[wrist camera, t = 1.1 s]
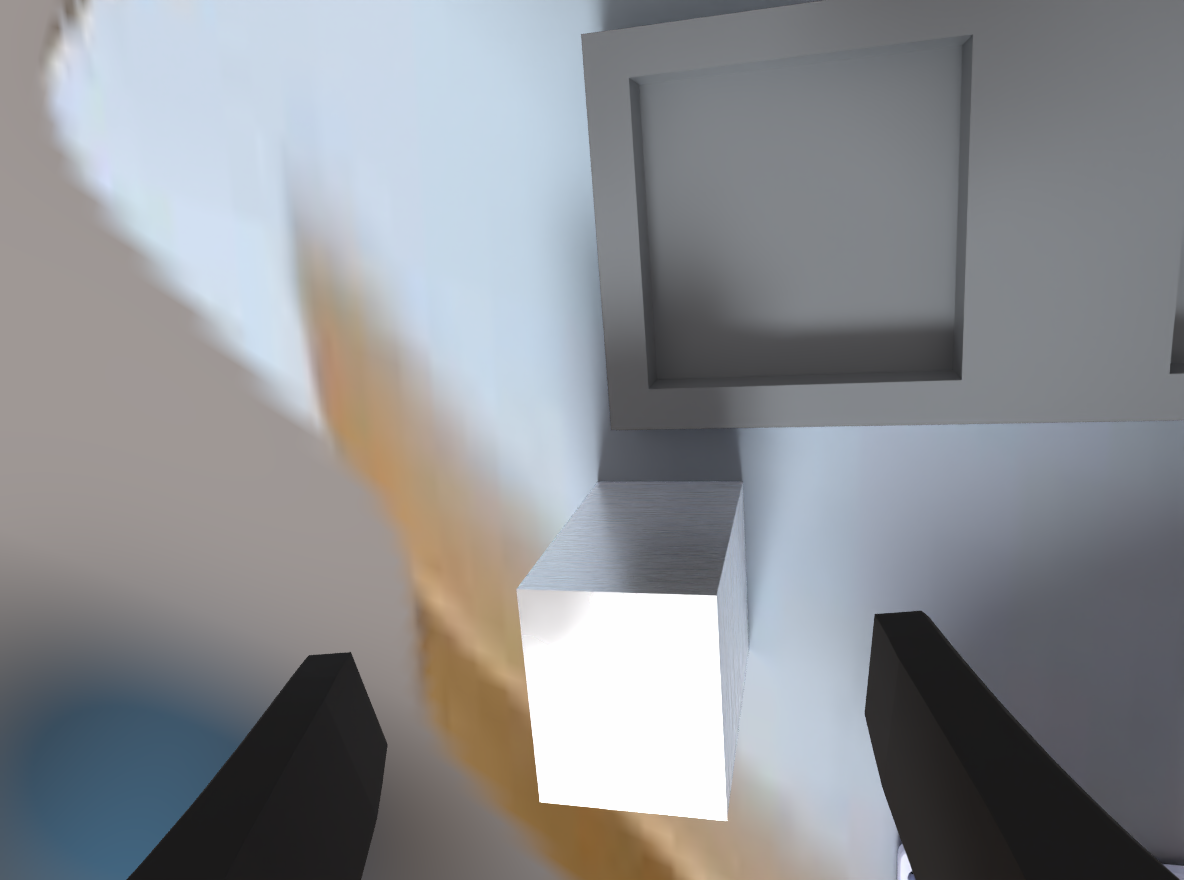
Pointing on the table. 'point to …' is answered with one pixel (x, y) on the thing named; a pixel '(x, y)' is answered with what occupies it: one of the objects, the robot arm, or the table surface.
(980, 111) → the pallet
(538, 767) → the block
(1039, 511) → the table surface
